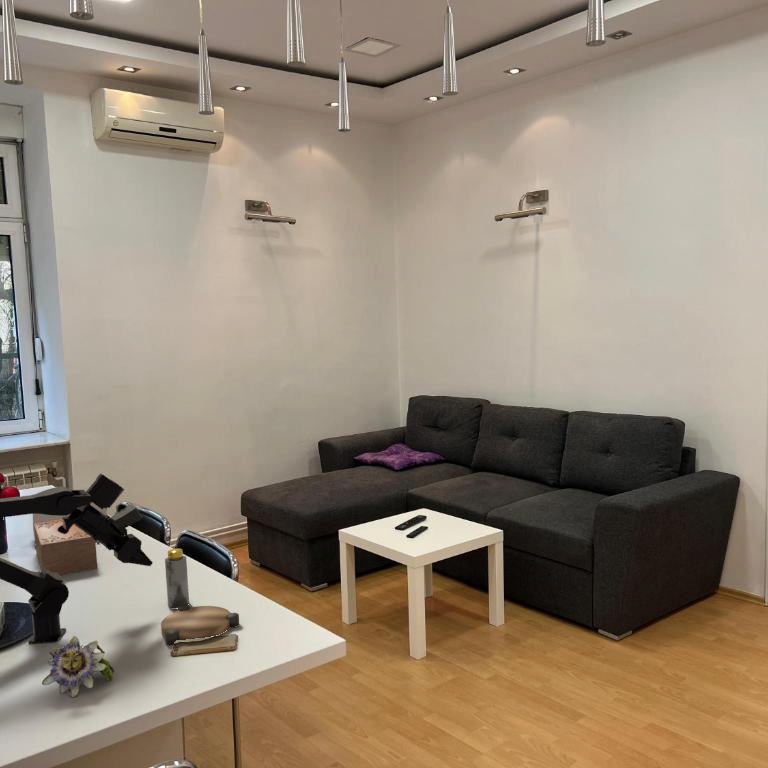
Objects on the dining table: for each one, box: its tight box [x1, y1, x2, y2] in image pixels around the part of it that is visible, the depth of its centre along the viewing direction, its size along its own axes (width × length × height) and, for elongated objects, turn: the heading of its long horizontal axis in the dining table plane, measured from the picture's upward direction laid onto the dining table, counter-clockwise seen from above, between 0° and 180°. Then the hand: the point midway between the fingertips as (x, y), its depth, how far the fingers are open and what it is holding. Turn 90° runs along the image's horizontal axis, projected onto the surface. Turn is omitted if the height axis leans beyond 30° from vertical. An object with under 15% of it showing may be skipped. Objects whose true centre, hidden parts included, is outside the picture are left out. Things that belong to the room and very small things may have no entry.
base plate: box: [160, 604, 240, 646], centre depth 181 cm, size 17×18×2 cm
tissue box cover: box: [34, 519, 99, 577], centre depth 233 cm, size 26×14×10 cm, turn 28°
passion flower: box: [41, 635, 116, 698], centre depth 155 cm, size 11×11×12 cm
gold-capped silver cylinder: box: [164, 548, 190, 609], centre depth 195 cm, size 5×5×14 cm
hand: (145, 559), depth 190 cm, fingers open, 9 cm apart
